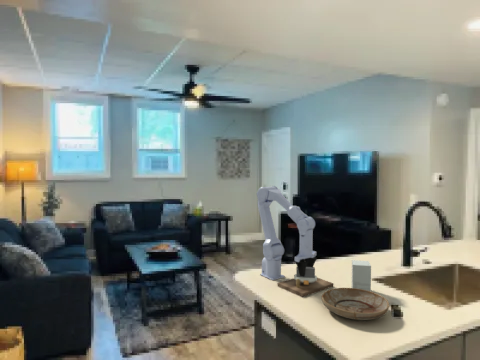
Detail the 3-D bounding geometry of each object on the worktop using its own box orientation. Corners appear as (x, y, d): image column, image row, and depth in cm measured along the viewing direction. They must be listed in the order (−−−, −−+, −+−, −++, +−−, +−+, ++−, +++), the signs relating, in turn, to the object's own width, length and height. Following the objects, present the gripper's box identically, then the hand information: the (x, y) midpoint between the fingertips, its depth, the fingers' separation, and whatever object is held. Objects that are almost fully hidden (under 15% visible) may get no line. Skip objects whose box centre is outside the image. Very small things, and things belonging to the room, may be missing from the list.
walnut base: (277, 286, 147) (277, 275, 147) (308, 277, 159) (308, 267, 159) (302, 297, 135) (302, 285, 135) (333, 286, 147) (333, 276, 147)
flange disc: (294, 274, 153) (294, 263, 152) (316, 275, 151) (316, 264, 151) (294, 283, 141) (294, 272, 140) (318, 285, 139) (318, 273, 139)
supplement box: (368, 289, 144) (369, 260, 143) (370, 295, 137) (371, 265, 136) (351, 287, 146) (351, 259, 145) (352, 293, 139) (352, 264, 138)
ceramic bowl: (336, 294, 139) (336, 282, 138) (396, 310, 124) (396, 297, 123) (310, 313, 121) (311, 300, 120) (377, 334, 106) (377, 319, 106)
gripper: (304, 248, 138) (304, 280, 139) (322, 243, 149) (322, 272, 149) (290, 246, 143) (290, 276, 144) (309, 240, 154) (308, 269, 154)
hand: (305, 274), depth 147 cm, fingers closed on flange disc, 5 cm apart
